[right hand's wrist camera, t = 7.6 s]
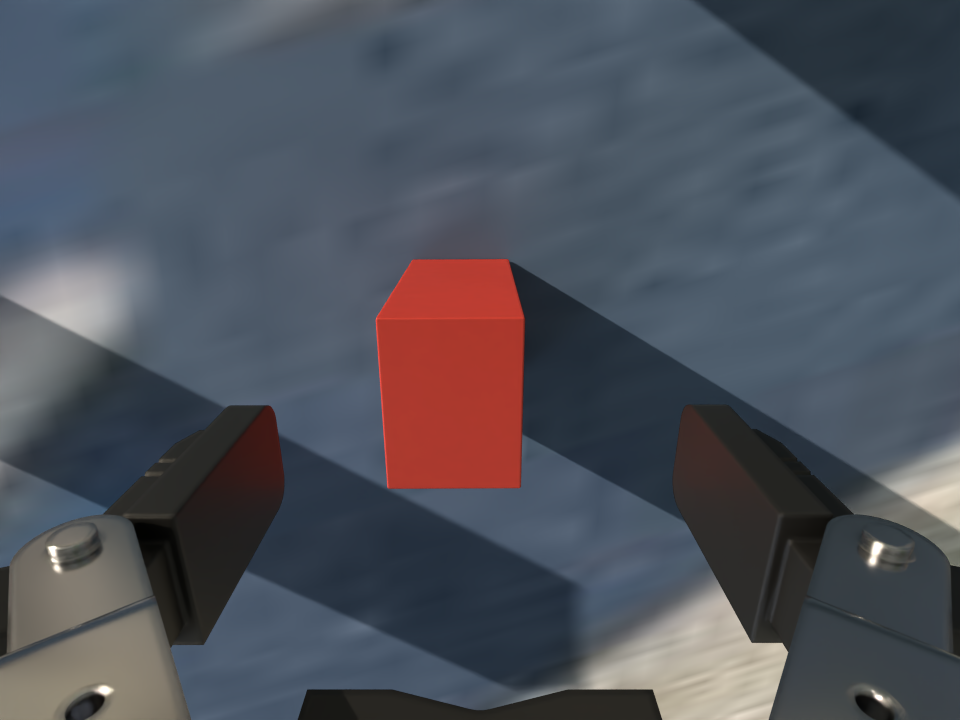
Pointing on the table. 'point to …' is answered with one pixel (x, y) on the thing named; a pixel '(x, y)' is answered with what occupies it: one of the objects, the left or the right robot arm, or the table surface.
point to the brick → (452, 376)
